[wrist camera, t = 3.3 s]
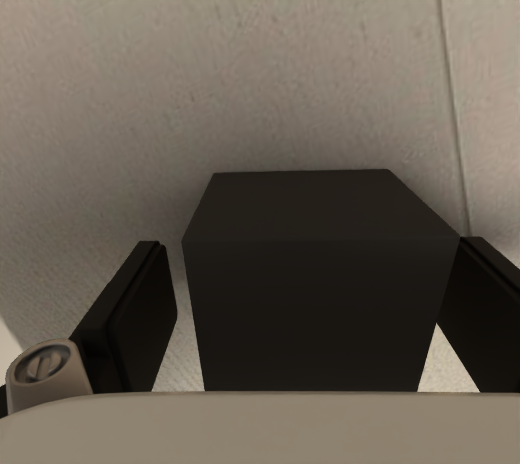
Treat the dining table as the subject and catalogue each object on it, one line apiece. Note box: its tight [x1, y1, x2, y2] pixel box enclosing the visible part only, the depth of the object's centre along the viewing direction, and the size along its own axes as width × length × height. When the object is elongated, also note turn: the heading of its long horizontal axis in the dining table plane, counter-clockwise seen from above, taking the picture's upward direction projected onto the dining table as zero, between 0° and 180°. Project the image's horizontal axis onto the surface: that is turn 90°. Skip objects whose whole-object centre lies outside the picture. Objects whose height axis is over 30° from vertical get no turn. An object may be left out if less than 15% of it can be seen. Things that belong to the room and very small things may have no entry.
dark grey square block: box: [181, 169, 460, 392], centre depth 10 cm, size 6×6×4 cm
